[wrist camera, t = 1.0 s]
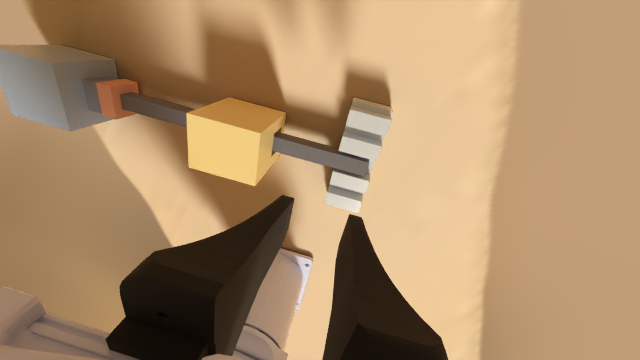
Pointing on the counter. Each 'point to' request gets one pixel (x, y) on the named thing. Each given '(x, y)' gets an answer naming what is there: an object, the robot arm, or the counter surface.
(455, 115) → the counter surface
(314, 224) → the counter surface
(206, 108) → the sleeve
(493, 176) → the counter surface
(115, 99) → the red-tipped gray rod
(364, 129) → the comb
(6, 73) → the block
